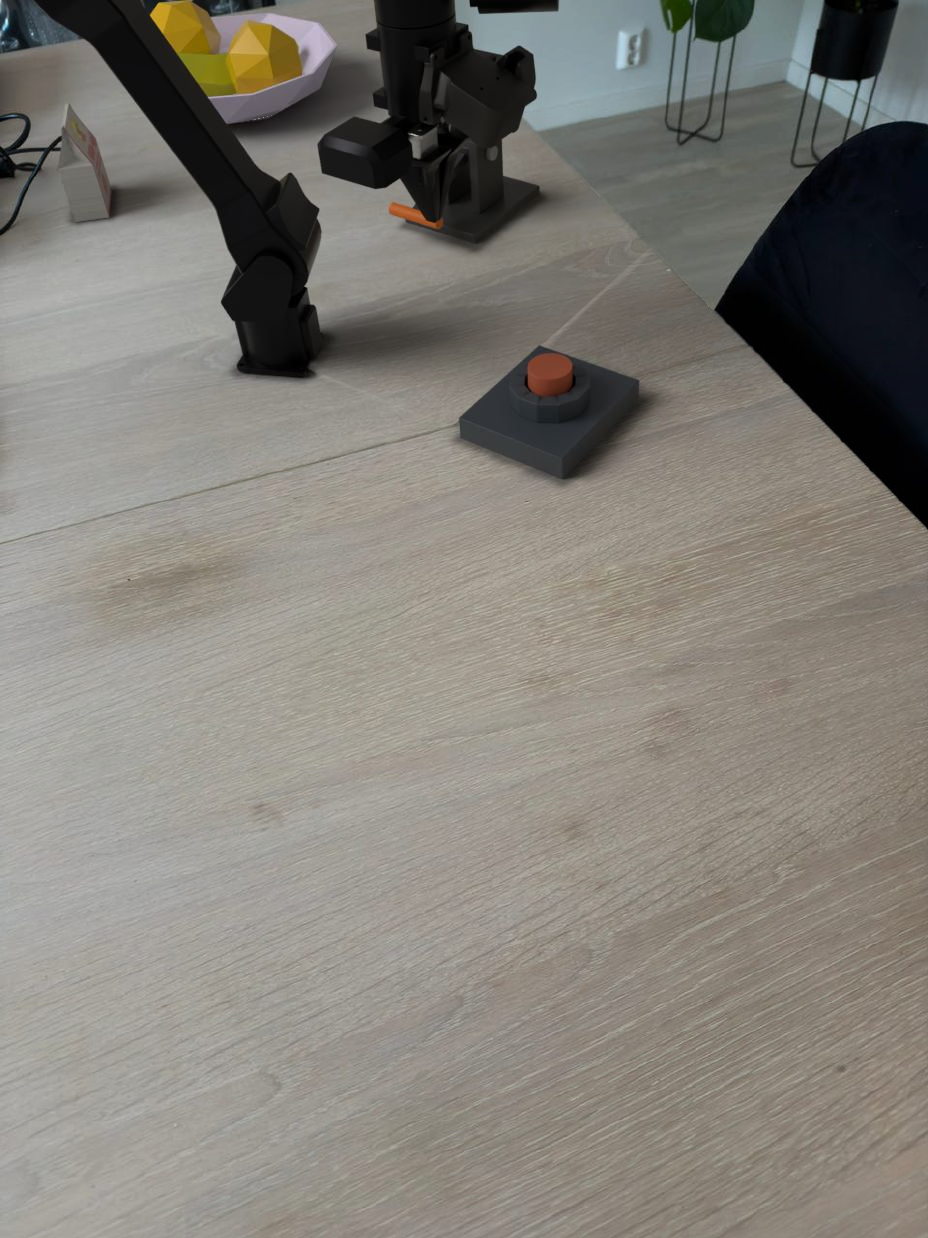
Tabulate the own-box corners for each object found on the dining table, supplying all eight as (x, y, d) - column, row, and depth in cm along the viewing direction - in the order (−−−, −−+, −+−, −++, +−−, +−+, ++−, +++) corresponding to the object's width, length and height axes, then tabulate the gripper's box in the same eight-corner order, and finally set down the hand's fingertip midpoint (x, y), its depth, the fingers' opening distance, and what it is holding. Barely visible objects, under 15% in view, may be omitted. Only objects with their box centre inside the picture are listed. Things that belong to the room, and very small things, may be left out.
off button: (556, 402, 87) (556, 384, 86) (519, 388, 89) (518, 370, 88) (580, 379, 89) (581, 361, 88) (543, 365, 91) (543, 347, 89)
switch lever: (439, 236, 108) (433, 217, 106) (392, 221, 111) (385, 202, 108) (503, 153, 111) (499, 133, 109) (456, 140, 114) (450, 121, 112)
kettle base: (475, 247, 111) (470, 163, 105) (405, 226, 115) (397, 143, 109) (539, 197, 117) (539, 114, 111) (471, 178, 121) (467, 97, 115)
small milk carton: (75, 222, 120) (44, 130, 113) (79, 193, 125) (49, 104, 117) (109, 217, 120) (80, 126, 113) (111, 188, 125) (83, 99, 118)
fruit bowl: (308, 45, 150) (293, -48, 142) (365, 121, 133) (353, 21, 124) (104, 86, 145) (77, -7, 136) (137, 172, 127) (107, 71, 119)
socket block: (562, 480, 86) (562, 440, 84) (460, 438, 91) (457, 399, 88) (638, 401, 93) (641, 361, 90) (539, 365, 97) (538, 326, 94)
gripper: (426, 84, 69) (445, 301, 81) (581, -12, 79) (578, 194, 91) (296, 53, 74) (331, 262, 86) (457, -34, 84) (469, 164, 95)
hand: (433, 220), depth 89 cm, fingers closed
